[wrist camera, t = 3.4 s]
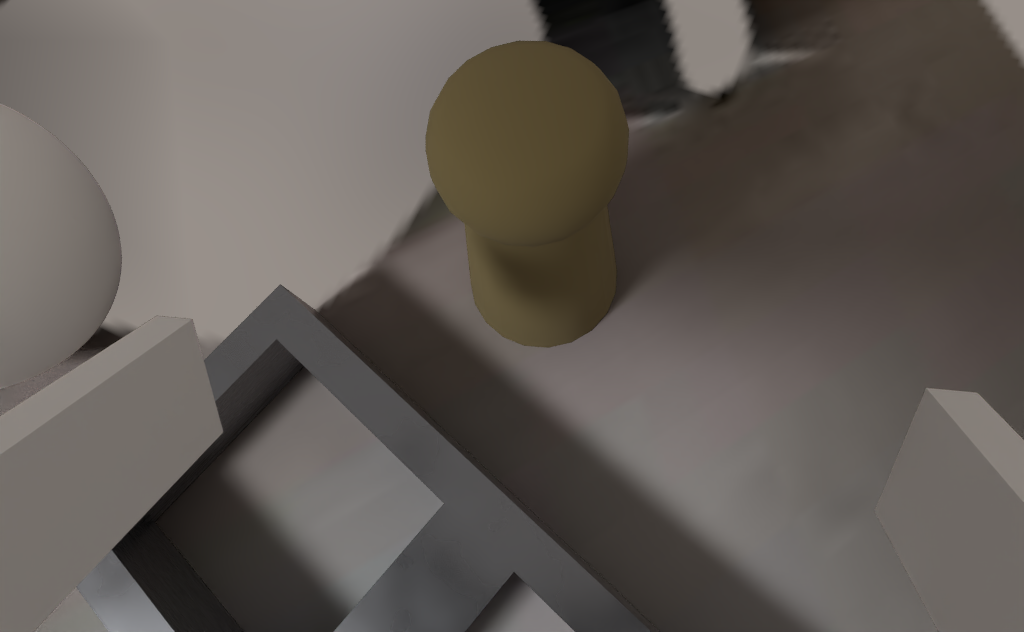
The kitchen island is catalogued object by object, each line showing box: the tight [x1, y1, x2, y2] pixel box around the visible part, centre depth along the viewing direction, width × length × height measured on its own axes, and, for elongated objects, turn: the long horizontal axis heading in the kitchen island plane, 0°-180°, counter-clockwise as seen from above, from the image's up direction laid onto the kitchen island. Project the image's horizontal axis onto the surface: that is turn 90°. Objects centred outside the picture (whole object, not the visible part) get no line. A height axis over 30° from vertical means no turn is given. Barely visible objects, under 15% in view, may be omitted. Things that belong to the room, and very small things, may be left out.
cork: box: [426, 41, 629, 347], centre depth 18 cm, size 6×6×11 cm
